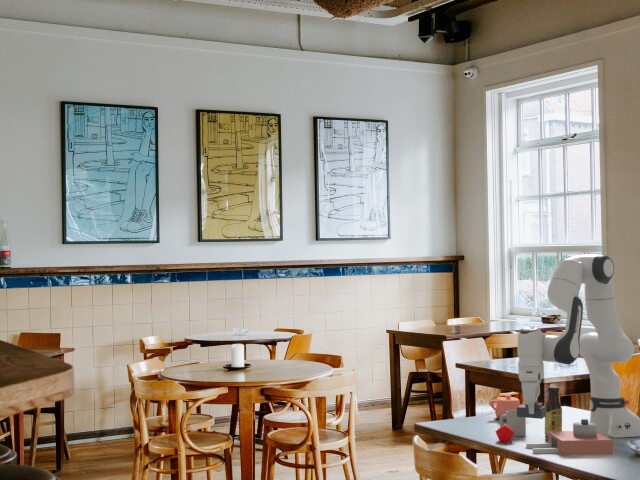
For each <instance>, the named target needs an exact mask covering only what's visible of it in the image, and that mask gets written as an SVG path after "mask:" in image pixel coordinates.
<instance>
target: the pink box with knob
mask: <svg viewBox="0 0 640 480" xmlns="http://www.w3.org/2000/svg"><path fill="white" fill-rule="evenodd" d="M589 422H590V421H589V419H588V418H587V419H586V418H581V419H580V421H577V422H573V423H572V429H573V430H565V431H564V430H562V431H548V440H547V442H540V443H539V442H538V443H537V442H536V443H534V442H533V443H531V442H529V443H525V445H526V446H525V447H526V449H532V454H559V455H561V456H583V455H584V456H585V455H587V456H588V455H589V456H591V455H594V456H595V455H600V456H601V455H614V440H613V438H612V437H607V436H605V435H603V434H601V433H600V432H598V431H597V425H596V424H595V423H589Z"/></svg>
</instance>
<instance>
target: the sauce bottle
mask: <svg viewBox="0 0 640 480" xmlns="http://www.w3.org/2000/svg"><path fill="white" fill-rule="evenodd" d="M547 391H548V397H547V398H548V399H547V400H546V402H545V406H546V417H544V435H545V436H544V438H545V440H546V441H548V431H563V408H562V406H561V402H560V398H559V396H560V395H559V392H560V387H559V386H554V385H553V386H548V387H547Z"/></svg>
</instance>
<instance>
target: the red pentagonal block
mask: <svg viewBox="0 0 640 480" xmlns="http://www.w3.org/2000/svg"><path fill="white" fill-rule="evenodd" d="M495 434H496V436H497V439H498V440H499V442H500V443H501V444H510V443H511V442H512V440H513V438H514V437H513V435H514V431H513V430H512V429H511V428H510V427H508V426H507V424H504V426H502V427H500V426H499V427H498V429H497V430H495ZM509 442H510V443H509Z"/></svg>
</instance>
